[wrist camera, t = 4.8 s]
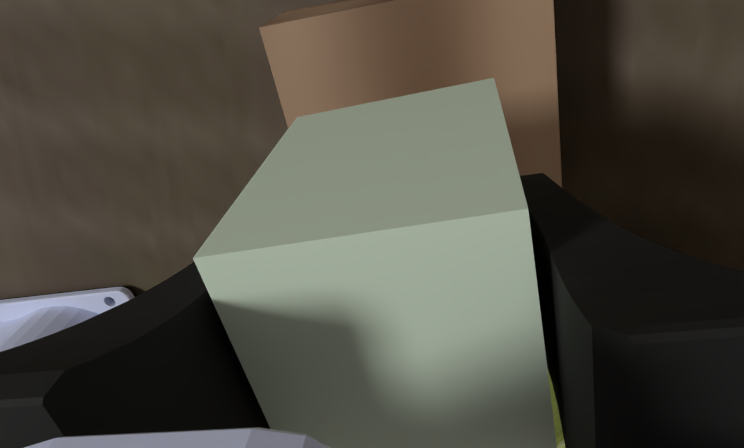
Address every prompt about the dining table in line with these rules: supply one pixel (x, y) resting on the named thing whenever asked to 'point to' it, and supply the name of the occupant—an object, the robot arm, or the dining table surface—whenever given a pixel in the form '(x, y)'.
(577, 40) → the dining table surface
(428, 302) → the sage block
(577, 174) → the dining table surface
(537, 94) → the walnut slab
